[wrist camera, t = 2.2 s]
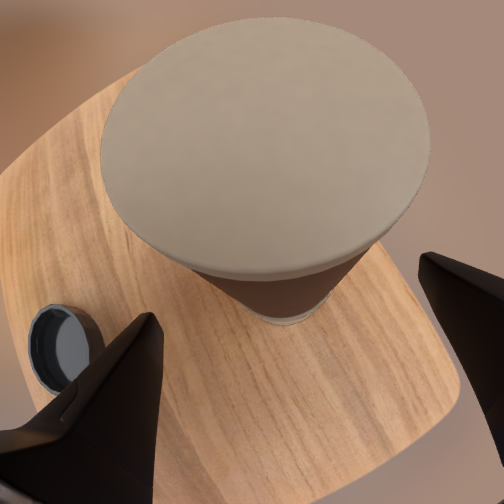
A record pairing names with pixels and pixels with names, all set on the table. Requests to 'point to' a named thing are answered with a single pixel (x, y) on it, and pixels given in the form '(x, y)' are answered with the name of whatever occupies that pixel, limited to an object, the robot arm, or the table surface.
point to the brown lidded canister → (266, 157)
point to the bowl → (62, 345)
